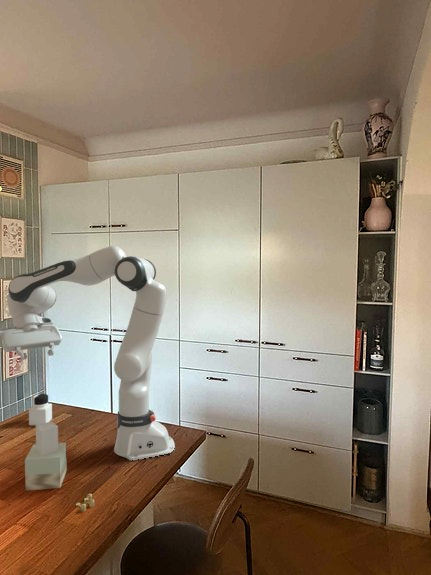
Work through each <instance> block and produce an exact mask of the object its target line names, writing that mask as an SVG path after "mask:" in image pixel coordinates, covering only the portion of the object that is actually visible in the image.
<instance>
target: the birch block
mask: <svg viewBox="0 0 431 575" xmlns="http://www.w3.org/2000/svg"><path fill="white" fill-rule="evenodd" d="M67 461H68V460H67V457H66V458H65V461H64V463H63V466H62V469H61V472H60V473H51V474H39V475H27V476H25V477H24V478H25V491H37V490H49V489H50V490H51V489H61V487H62V484H63V481H64V479H65V476H66V474H67V471H68V470H67V469H68V467H67V466H68V465H67Z"/></svg>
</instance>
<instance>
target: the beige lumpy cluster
mask: <svg viewBox="0 0 431 575" xmlns="http://www.w3.org/2000/svg"><path fill="white" fill-rule="evenodd" d="M83 501H84V502H83V503H82V504H81V502H76V504H75V506H76V507H79V508H80V512H83V513H84V512H86V511H87V505H89V507H91V508H92V507H93V508H94V506H95V499H93V494H92V493H87V494H86V497H85V498H83Z"/></svg>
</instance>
